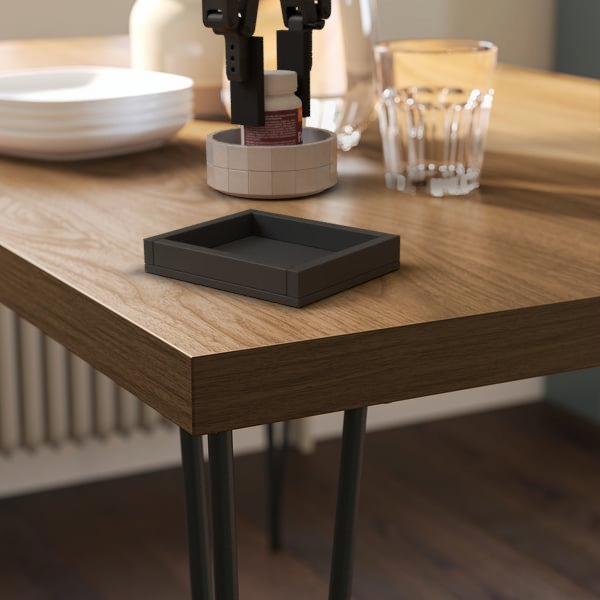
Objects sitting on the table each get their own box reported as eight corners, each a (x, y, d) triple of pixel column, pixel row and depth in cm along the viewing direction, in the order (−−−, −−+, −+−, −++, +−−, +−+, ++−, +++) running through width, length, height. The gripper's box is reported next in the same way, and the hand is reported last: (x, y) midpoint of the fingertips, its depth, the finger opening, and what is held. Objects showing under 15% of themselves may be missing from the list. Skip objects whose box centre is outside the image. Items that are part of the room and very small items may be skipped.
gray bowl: (362, 183, 92) (362, 132, 91) (280, 207, 85) (280, 152, 84) (265, 168, 98) (264, 121, 97) (180, 189, 91) (178, 138, 90)
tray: (400, 268, 69) (400, 235, 69) (298, 308, 62) (298, 271, 62) (251, 238, 76) (250, 208, 76) (144, 271, 69) (142, 238, 69)
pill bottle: (313, 184, 90) (312, 73, 88) (255, 190, 88) (253, 77, 86) (288, 173, 94) (287, 67, 92) (232, 178, 93) (229, 70, 90)
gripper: (302, -197, 92) (305, 102, 99) (137, -217, 79) (153, 131, 86) (381, -205, 87) (378, 110, 94) (220, -227, 74) (230, 141, 81)
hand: (271, 119), depth 90 cm, fingers closed on pill bottle, 5 cm apart
